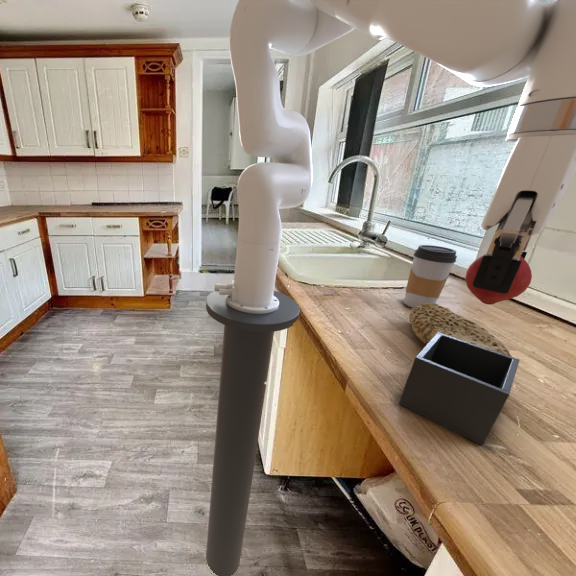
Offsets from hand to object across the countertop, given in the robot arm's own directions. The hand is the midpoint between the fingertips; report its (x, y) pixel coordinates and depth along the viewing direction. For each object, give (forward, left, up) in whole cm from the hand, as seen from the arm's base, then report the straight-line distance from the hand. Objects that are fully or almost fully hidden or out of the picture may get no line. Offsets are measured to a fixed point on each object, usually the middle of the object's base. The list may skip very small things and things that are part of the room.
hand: (494, 282), depth 39 cm
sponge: (+10, +16, -19) cm, 27 cm away
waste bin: (0, -1, -19) cm, 19 cm away
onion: (0, 0, -3) cm, 3 cm away
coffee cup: (+16, +37, -19) cm, 45 cm away
